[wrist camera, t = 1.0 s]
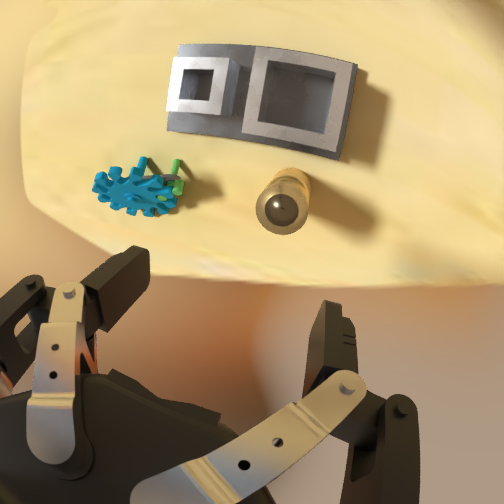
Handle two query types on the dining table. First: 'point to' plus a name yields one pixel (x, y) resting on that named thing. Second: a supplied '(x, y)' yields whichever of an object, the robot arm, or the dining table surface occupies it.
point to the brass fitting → (284, 202)
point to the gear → (139, 189)
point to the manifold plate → (262, 96)
